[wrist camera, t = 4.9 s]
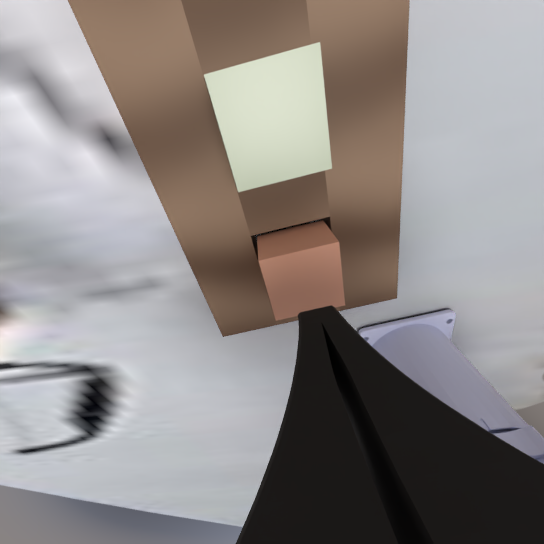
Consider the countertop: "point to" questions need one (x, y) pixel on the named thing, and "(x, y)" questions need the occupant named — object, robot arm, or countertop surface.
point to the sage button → (273, 117)
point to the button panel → (211, 150)
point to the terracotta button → (301, 269)
